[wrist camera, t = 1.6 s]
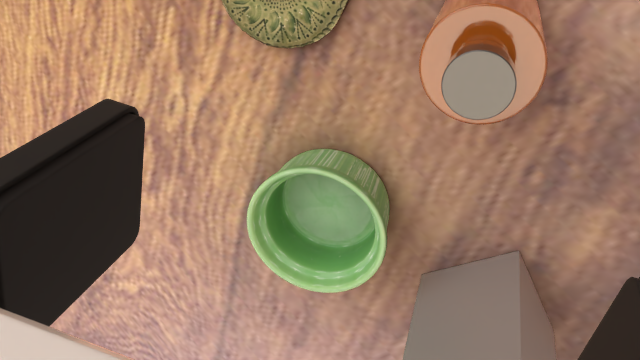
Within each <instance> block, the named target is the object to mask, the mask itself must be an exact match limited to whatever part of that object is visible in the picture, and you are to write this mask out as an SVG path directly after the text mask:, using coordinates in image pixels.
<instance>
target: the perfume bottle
mask: <svg viewBox="0 0 640 360" xmlns="http://www.w3.org/2000/svg"><path fill="white" fill-rule="evenodd" d="M403 360H556V350H555V338H554V330H553V328H552V326H551V323H550V321H549V319H548V316H547V314H546V312H545V309H544V307H543V305H542V303H541V300H540V298H539V296H538V293H537V291H536V289H535V286H534V284H533V282H532V279H531V277H530V275H529V272H528V270H527V268H526V265H525V263H524V261H523V259H522V256H521V254H520V252H519V251H515V252H511V253H507V254H503V255H499V256H495V257H491V258H487V259H483V260H479V261H475V262H471V263H466V264H462V265H458V266H454V267H450V268H446V269H442V270H438V271H434V272H430V273H426V274H422V275H421V279H420V284H419V288H418V293H417V297H416V302H415V306H414V311H413V315H412V320H411V324H410V328H409V333H408V337H407V342H406V346H405V351H404V355H403Z"/></svg>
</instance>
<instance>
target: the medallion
mask: <svg viewBox="0 0 640 360" xmlns="http://www.w3.org/2000/svg"><path fill="white" fill-rule="evenodd" d="M222 2H223V5H224V7H225V8H226V11H227V13H228V14H229V15H230V17H231V18H232V19H233V20H234V22H235V23H236V24H237V25H238V26H239V27H240V28H241V29H242V30H243V31H245V32H246V33H247V34H248V35H250V36H251V37H253V38H254V39H256V40H258V41H260V42H262V43H264V44H266V45H268V46H272V47H278V48H294V47H298V48H299V47H303V46H305V45H308V44H312V43H314V42H316V41H318V40H320V39H321V38H323V37H324V36H325V35H327V34H328V33H329V32H330V31H331V30H332V29H333V27H334V26H335V25H336V23H337V22H338V20H339V18H340V16H341V14H342V13H343V10H344V8H345V6H346V4H347V2H348V0H222Z"/></svg>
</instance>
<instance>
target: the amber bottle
mask: <svg viewBox="0 0 640 360" xmlns="http://www.w3.org/2000/svg"><path fill="white" fill-rule="evenodd" d="M547 64H548V58H547V49H546V44H545V38H544V33H543V27H542V22H541V16H540V11H539V6H538V2H537V0H446V1H445V3H444V5H443V6H442V8H441V10H440V12H439V14H438V16H437V18H436V20H435V22H434V24H433V26H432V28H431V30H430V32H429V34H428V36H427V38H426V40H425V42H424V44H423V47H422V50H421V54H420V60H419V73H420V78H421V82H422V85H423V88H424V90H425V92H426V94H427V96H428V97H429V99H430V100H431V101H432V103H433V104H434V105H435V106H436V107H437V108H438V109H439V110H441V111H442V112H443V113H445V114H446V115H448V116H450V117H452V118H453V119H456V120H459V121H461V122H465V123H470V124H491V123H496V122H500V121H503V120H506V119H509V118H511V117H513V116H514V115H516V114H518V113H519V112H521V111H522V110H524V109H525V108H526V107H527V106H528V105H529V104H530V103H531V102H532V101H533V100H534V99H535V97H536V96H537V94H538V93H539V91H540V89H541V87H542V85H543V83H544V80H545V77H546V72H547Z"/></svg>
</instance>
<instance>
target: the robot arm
mask: <svg viewBox="0 0 640 360" xmlns="http://www.w3.org/2000/svg"><path fill="white" fill-rule="evenodd" d="M144 133H145V122H144V119H143V118H142V117H140V116H139V114H138V111H137V109H136V108H135V107H132V106H129V105H126V104H123V103H120V102H117V101H114V100H111V99H105V100H103V101H101V102H99V103H97V104H95V105H94V106H92V107H90V108H88V109H87V110H85V111H83V112H81V113H80V114H78V115H76V116H74V117H72V118H71V119H69V120H67V121H65V122H64V123H62V124H60V125H58V126H57V127H55V128H53V129H51V130H49V131H48V132H46V133H44V134H42V135H41V136H39V137H37V138H35V139H33V140H32V141H30V142H28V143H26V144H25V145H23V146H21V147H19V148H18V149H16V150H14V151H12V152H10V153H9V154H7V155H5V156H3V157H2V158H0V360H135V359H132V358H130V357H127V356H124V355H122V354H119V353H117V352H114V351H111V350H109V349H106V348H104V347H101V346H98V345H96V344H93V343H91V342H88V341H85V340H83V339H80V338H78V337H75V336H72V335H70V334H67V333H65V332H62V331H59V330H57V329H54V328H52V327H49V326H50V325H51V324H52V323H53V322H54V321H55V320H56V319H57V318H58V317H59V316H60V315H61V314H62V313H63V312H64V311H65V310H66V309H67V308H68V307H69V306H70V305H71V304H72V303H73V302H75V301H76V300H77V299H78V298H79V297H80V296H81V295H82V294H83V293H84V292H85V291H86V290H87V289H88V288H89V287H90V286H91V285H92V284H93V283H94V282H95V281H96V280H97V279H98V278H99V277H100V276H101V275H102V274H103V273H104V272H105V271H106V270H107V269H108V268H109V267H110V266H111V265H112V264H113V263H114V262H115V261H116V260H117V259H118V258H119V257H120V256H121V255H122V254H123V253H124V252H125V251H126V250H127V249H128V248H129V247H130V246H131V245H132V244H133V243H134V241H135V239H136V237H137V235H138V232H139V227H140V209H141V190H142V171H143V152H144ZM578 360H640V277H639V279H637V278H634V277H630V278H629V279H628V280H627V281H626V282H625V283H624V285H623V287H622V288H621V290H620V292H619V293H618V295H617V296H616V298H615V300H614V301H613V303H612V305H611V306H610V308H609V309H608V311H607V313H606V314H605V316H604V318H603V319H602V321H601V322H600V324H599V326H598V327H597V329H596V331H595V332H594V334H593V335H592V337H591V339H590V340H589V342H588V344H587V345H586V347H585V348H584V350H583V352H582V353H581V355H580V357H579V358H578Z"/></svg>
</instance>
